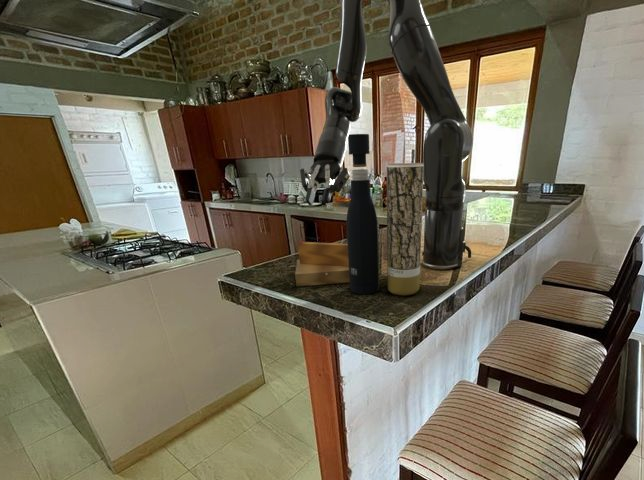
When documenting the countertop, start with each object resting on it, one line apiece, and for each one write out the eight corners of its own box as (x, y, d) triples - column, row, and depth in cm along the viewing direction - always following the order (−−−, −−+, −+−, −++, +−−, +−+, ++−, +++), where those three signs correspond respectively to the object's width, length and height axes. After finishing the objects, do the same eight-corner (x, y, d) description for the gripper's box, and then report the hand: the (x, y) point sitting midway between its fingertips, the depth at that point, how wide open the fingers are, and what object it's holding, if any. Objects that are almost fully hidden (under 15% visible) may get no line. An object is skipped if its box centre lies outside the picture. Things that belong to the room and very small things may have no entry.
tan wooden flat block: (351, 264, 80) (350, 242, 78) (349, 266, 79) (348, 244, 76) (302, 261, 83) (300, 240, 81) (299, 263, 82) (297, 242, 80)
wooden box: (357, 263, 91) (356, 252, 90) (365, 285, 76) (365, 271, 74) (293, 268, 89) (291, 256, 88) (288, 291, 74) (286, 277, 72)
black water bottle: (380, 284, 76) (377, 134, 63) (377, 294, 70) (374, 132, 57) (352, 283, 77) (344, 136, 64) (347, 294, 71) (337, 134, 58)
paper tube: (410, 299, 68) (414, 163, 57) (381, 293, 71) (379, 164, 60) (424, 288, 73) (429, 162, 62) (396, 283, 76) (397, 163, 65)
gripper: (301, 139, 88) (285, 193, 83) (352, 137, 84) (338, 193, 79) (312, 161, 95) (297, 212, 90) (359, 160, 91) (347, 213, 86)
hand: (316, 203), depth 84 cm, fingers open, 3 cm apart
